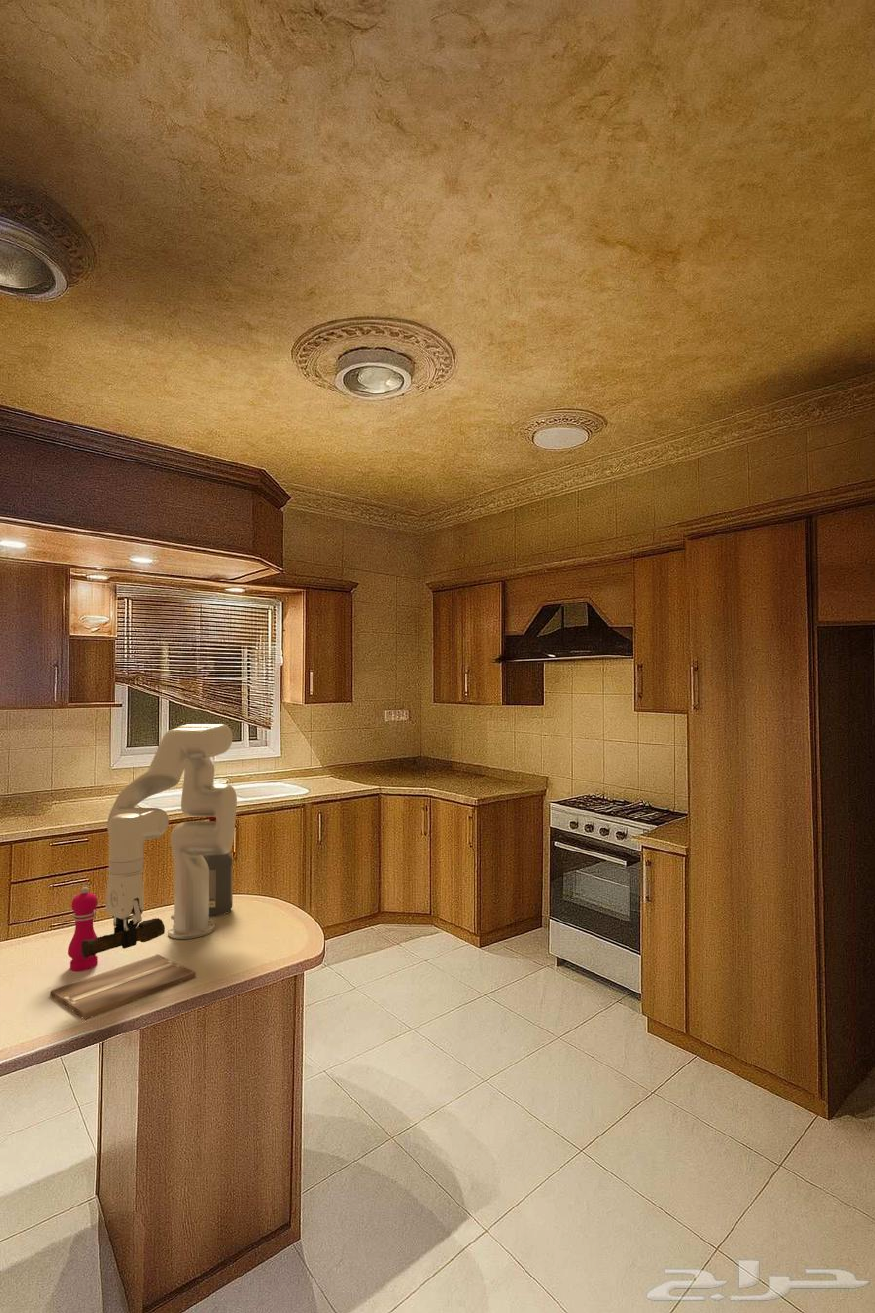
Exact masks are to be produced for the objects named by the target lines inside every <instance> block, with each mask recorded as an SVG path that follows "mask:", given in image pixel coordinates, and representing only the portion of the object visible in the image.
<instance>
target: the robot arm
mask: <svg viewBox="0 0 875 1313" xmlns="http://www.w3.org/2000/svg"><path fill="white" fill-rule="evenodd" d="M233 738H234V737H233V732H232V730H231V728H230V727H229V726H228V725H227V724H224V723H217V724H216V723H214V724H213V723H212V724H211V723H210V724H209V723H191V724H189V723H187V724H183V725H179V726H177V727H176V728H173V729H170V730H168V731H166V732H165V733H164V735H163V736H162V738H161V741H160V744H158V745H159V746H158V748H156V752H155V755H154V756H153V758H152V761H151V763H150V765H149V767H148V769H147V771H145V772H144V773H143V774H141V775H139V776H138V777H137V778H135V779H134V780H132V782H130V783H129V784H128V785H126V786H125V787H124V788H123V789H122V790H121V791H120V793H119V794H118V795H117V797H116V799H115V801H114V803H113V805H112V807H111V810H110V812H109V815H108V816H107V821H106V828H107V832H108V836H109V838H108V840H109V841H108V875H107V876H108V877H107V884H106V894H105V912H106V913H107V914H109V915H110V916H112V918H113V921H112V922H113V924H112V925H113V934H114V933H117V932H120V931H122V946H121V948H122V949H124V950H125V949H127V948H131V947H134V946H136V945H137V942H138V941H137V928H138V925H139V923H141V922H143V921H142V920H143V919H142V918H143V917H142V914H144V913H143V912H144V906H145V904H144V900H145V899H144V897H145V896H144V883H143V882H144V880H143V872H144V848H145V847H144V841H146V840H154V839H157V838H159V837H161V836H163V835H164V834H165V832H166V831H167V829H168V827H169V824H170V818H169V815H168V812H166V811H165V810H164V809H162V808H158V807H137V806H138V804H140V803H141V802H143V801H144V800H145V799H147V798H150V797H151V796H154V795H156V794H159V793H162V792H165V791H167V790H170V789H172V788H173V787H175V786H177V785H178V784H179V783H180V781H181V777H182V776H183V780H182V781H183V782H182V791H181V800H180V801H181V802H180V808H181V812H182V813H183V814H184V815H185V816H187V817H196V818H197V817H200V818H201V817H203V818H204V817H206V818H207V817H208V818H209V817H216V822H214V821H209V820H207V821H205V820H204V821H201V820H197V821H194V820H190V821H183V822H180V823H178V824H177V825H175V827H174V828H173V829H172V831H171V835H170V846H171V851H172V855H173V865H174V867H173V868H174V869H173V870H174V871H173V872H174V873H173V878H174V880H173V882H174V886H173V888H174V891H173V892H174V893H173V896H174V898H173V899H174V900H173V905H174V906H173V909H174V910H173V914H172V915H171V916H170V919H171V920H173V925H172V926H171V927H169V928H168V931H167V933H168V934H167V935H168V936H169V937H170V938H172V939H177V940H188V939H189V940H191V939H196V938H200V937H204V936H207V935H209V934H210V933H213V931H214V930H215V923H214V922H213V921H212V920H211V921H210V917H209V867H208V864H207V862H206V860H205V858H204V857H203V855H224V854H227V853H230V851H231V850H232V847H233V844H234V837H235V829H236V827H235V826H236V818H237V806H238V805H237V804H238V799H237V798H238V797H237V793H236V790H235V788H234V787H233V786H232V785H230V784H227V783H214V780H215V779H214V778H215V766H214V763H213V761H212V759H211V758H213V757H218V756H220V755H222V754H225V753H226V752H227V751H229V749H230V748H231V747H232V746H231V745H232V744H233Z"/></svg>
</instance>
